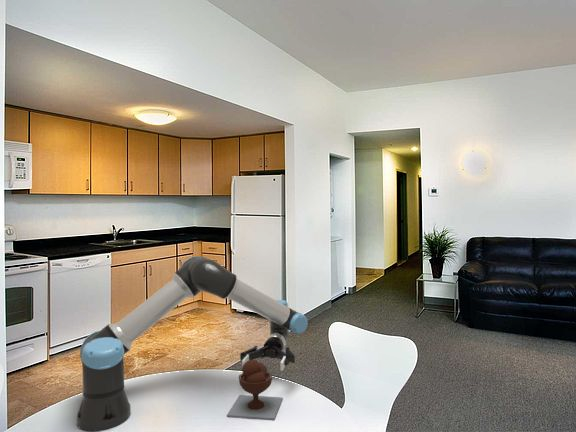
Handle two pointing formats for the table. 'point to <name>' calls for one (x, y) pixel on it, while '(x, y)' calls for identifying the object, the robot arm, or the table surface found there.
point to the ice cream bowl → (255, 381)
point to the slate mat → (265, 413)
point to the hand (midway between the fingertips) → (262, 365)
